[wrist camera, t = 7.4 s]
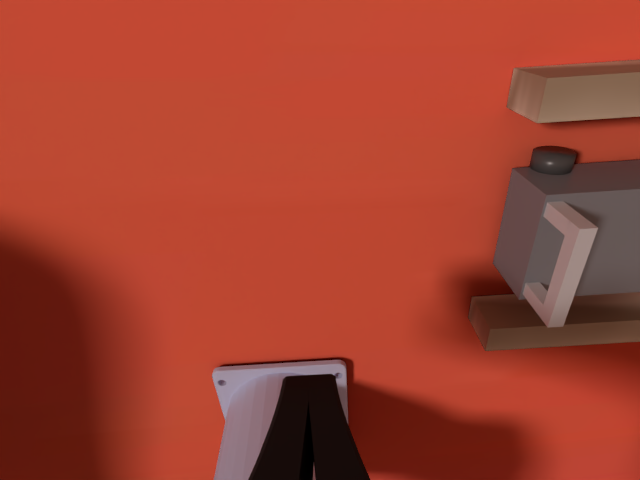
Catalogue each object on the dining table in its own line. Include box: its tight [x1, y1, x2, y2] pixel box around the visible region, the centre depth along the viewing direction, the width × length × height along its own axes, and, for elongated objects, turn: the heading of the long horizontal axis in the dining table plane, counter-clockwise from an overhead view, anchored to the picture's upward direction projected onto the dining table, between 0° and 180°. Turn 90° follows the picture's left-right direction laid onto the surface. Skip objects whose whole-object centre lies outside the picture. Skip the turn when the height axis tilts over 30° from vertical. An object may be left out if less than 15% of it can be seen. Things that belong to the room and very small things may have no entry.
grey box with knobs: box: [493, 146, 640, 328], centre depth 16 cm, size 6×9×5 cm
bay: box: [468, 60, 640, 351], centre depth 17 cm, size 13×12×2 cm
